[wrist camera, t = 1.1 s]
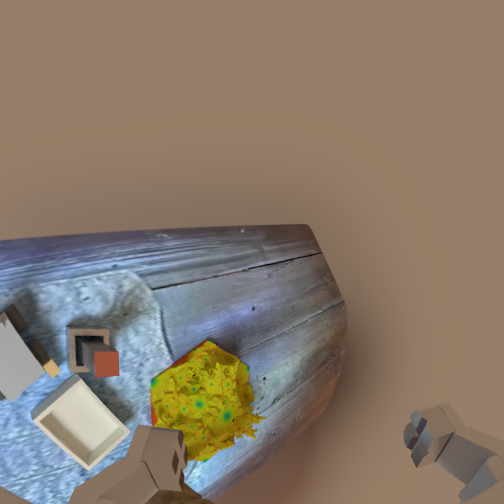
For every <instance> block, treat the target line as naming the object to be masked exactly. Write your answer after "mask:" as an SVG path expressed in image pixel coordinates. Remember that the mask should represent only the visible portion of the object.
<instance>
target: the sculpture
mask: <svg viewBox="0 0 504 504" xmlns="http://www.w3.org/2000/svg"><path fill="white" fill-rule="evenodd" d="M145 504H214V503H212V502H211V501H209V500H207V499H202V496H201V495H200V494H198V493H197V492H195V491H194V490H193V489H191V488H190V487H189V486H188V485H187V484H185V483H184V484H183V490H182V491H172V490H163V489H158V491H157V492H156V493H155V494H154V495H153V496H152V497H151V498H150V499H149V500H148V501H147V502H146V503H145Z"/></svg>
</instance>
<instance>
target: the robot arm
mask: <svg viewBox="0 0 504 504" xmlns="http://www.w3.org/2000/svg"><path fill="white" fill-rule="evenodd" d="M410 420H411V422H410V423H409V424H408V425H407V426H406V427H405V430H404V443H405V445H406V447H407V448H408V449H410V450H412V454H411V457H412V460H413V462H414V463H415V466H416V468H418V467H422V466H425V465H428V464H432V463H434V462H435V464H437V465H438V466H439V467H441V468H442V469H444V470H445V471H447V472H448V473H449V474H451V475H452V476H454V477H455V478H457V479H458V480H460V481H461V482H463V483H464V484H466V486H465V487H464V488H463V489H462V491H461V492H460V493H459V495H458V496H459V498H460V500H461V503H458V504H504V441H501V440H499V439H497V438H494V437H492V436H490V435H487V434H485V433H483V432H481V431H479V430H476V429H474V428H472V427H466V425H465V424H464V423H463V421H462V420H461V418H460V417H459V416H458V414H457V413H456V411H455V410H454V409H453V407H452V406H451V405H450V403H448V402H444V403H441V404H437V405H433V406H429V407H426V408H422V409H419V410H415V411H413V412H412V414H411V416H410ZM183 438H184V435H183V432H182V430H177V429H168V428H160V427H152V426H145V425H139V426H138V427H137V428H136V430H135V433H134V436H133V439H132V441H131V444H130V447H129V449H128V452H127V455H126V458H125V459H124V458H121V459H119V460H118V461H116V462H115V463H113V464H112V465H110V466H109V467H107V468H106V469H104V470H103V471H101V472H100V473H98V474H97V475H95V476H94V477H92V478H91V479H89V480H88V481H86V482H84V483H83V484H81V485H80V486H78V487H76V488H75V489H74V491H73V494H72V496H71V498H70V501H69V503H68V504H145V503H146V502H147V501H148V500H149V499H150V498H151V497H152V496H153V495H154V494H155V493H156V492H157V491H158V489H163V490H172V491H182V490H183V484H184V478H185V476H184V473H183V470H184V469H185V468H186V467H187V457H188V452H187V446H186V443H184V442H183ZM0 504H34V503H32V502H30V501H28V500H26V499H24V498H22V497H20V496H18V495H16V494H14V493H12V492H11V491H9V490H7V489H5V488H4V487H2V486H0Z"/></svg>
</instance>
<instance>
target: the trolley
mask: <svg viewBox="0 0 504 504" xmlns="http://www.w3.org/2000/svg"><path fill="white" fill-rule="evenodd" d="M5 311H6V313H7V314H6V313H5ZM5 311H4V312H3V313H2V314H1V315H0V400H1V401H2V400H3V399H5V398H7V399H8V400H9V402H11V401H12V400H14V399H15V398H16V397H17V396H18V395H19V394H20V393H22V392H23V391H24V390H25V389H26V388H27V387H28V386H30V385H31V384H32V383H33V382H34V381H35V380H37V379H38V378H39V377H40V376H41V375H42V374H44V373H45V372H46V371H45V369H44V367H43V366H42V365H44V364H45V363H46V362H48V361H49V360H50V358H49V357H48V355H47V354H46V352H45V351H44V349H43V348H42V347H41V345H40V344H39V343H38V341H37V340H36V339H35V338H34V339H32V340H31V341H30V342H29V343H27V344H28V346H29V347H28V346H27V344H26V343H25V342H24V340H23V339H22V337H21V336H20V334H19V333H21V332H22V331H23V330H24V329H26V328H27V326H26V324H25V322H24V321H23V319H22V317H21V316H20V314H19V313H18V311H17V310H16V308H15V306H14V305H13V304H12V305H11V306H10V307H8V308H7V309H6V310H5ZM7 315H8V316H7ZM8 317H9V318H10V319H9V318H8ZM10 320H11V321H10ZM12 323H13V324H12ZM14 326H15V327H14ZM16 329H17V330H16ZM18 332H19V333H18ZM29 348H30V349H31V350H30V349H29ZM32 352H33V353H34V354H33V353H32ZM35 356H36V357H35ZM38 360H39V361H40V362H39V361H38ZM41 364H42V365H41Z"/></svg>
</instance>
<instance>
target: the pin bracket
mask: <svg viewBox="0 0 504 504" xmlns="http://www.w3.org/2000/svg"><path fill="white" fill-rule="evenodd" d="M75 335H82V336H99V340H100V341H102V342H103V343H105V344H107V345H108V346H109V329H107V328H105V327H68V326H66V349H67V366H68V369H69V371H70V372H71V373H74V372H90V371H89V370H88V369H87V368H86V367H85V366H84V365H83V364H82V363H81V362H76V352H75Z"/></svg>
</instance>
